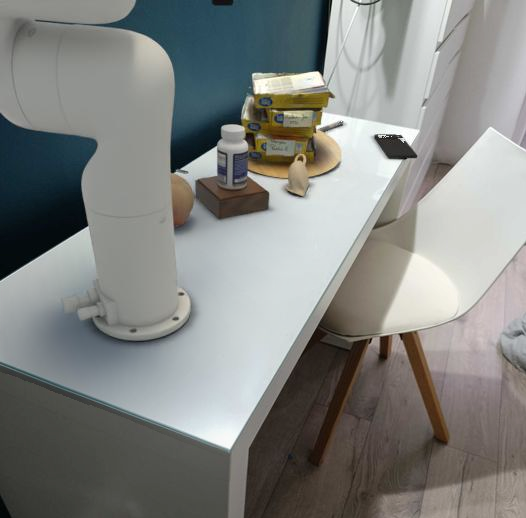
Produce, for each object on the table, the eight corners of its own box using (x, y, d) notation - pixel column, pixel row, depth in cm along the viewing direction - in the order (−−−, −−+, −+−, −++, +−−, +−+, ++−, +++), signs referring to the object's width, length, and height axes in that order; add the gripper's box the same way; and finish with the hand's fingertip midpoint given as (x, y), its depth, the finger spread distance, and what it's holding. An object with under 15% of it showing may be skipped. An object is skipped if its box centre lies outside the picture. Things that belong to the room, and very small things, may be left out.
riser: (219, 219, 87) (219, 200, 85) (195, 196, 94) (194, 178, 91) (268, 209, 91) (269, 190, 89) (242, 188, 98) (243, 170, 95)
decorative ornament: (282, 194, 97) (285, 166, 93) (292, 178, 103) (295, 152, 99) (303, 197, 96) (306, 170, 93) (311, 181, 102) (315, 155, 99)
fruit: (138, 227, 83) (133, 180, 78) (162, 208, 89) (158, 163, 84) (182, 237, 81) (179, 190, 76) (202, 217, 87) (202, 172, 82)
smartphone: (417, 158, 116) (400, 137, 127) (418, 154, 115) (400, 132, 126) (388, 158, 115) (373, 137, 127) (389, 154, 115) (374, 132, 126)
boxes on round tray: (335, 184, 102) (350, 95, 91) (217, 169, 104) (217, 80, 93) (341, 145, 120) (354, 67, 110) (241, 133, 123) (243, 55, 112)
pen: (345, 118, 133) (340, 120, 134) (316, 129, 124) (312, 131, 125) (346, 122, 133) (341, 124, 134) (318, 133, 124) (313, 135, 125)
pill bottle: (248, 180, 92) (251, 124, 86) (245, 191, 88) (247, 134, 82) (219, 177, 92) (219, 121, 86) (214, 189, 88) (214, 131, 82)
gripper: (153, -162, 68) (162, -8, 79) (208, -172, 57) (210, 9, 68) (204, -155, 71) (206, -7, 82) (265, -163, 60) (258, 9, 71)
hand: (207, 0), depth 75 cm, fingers open, 9 cm apart
